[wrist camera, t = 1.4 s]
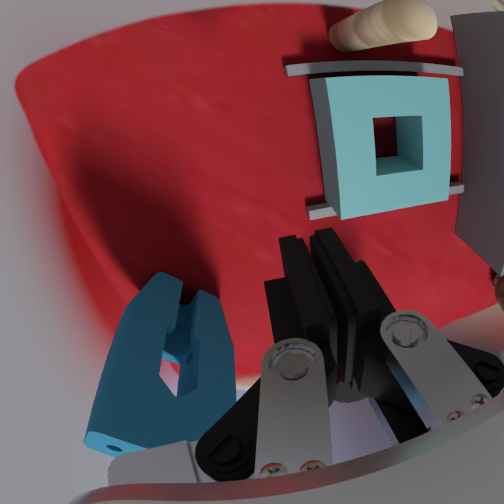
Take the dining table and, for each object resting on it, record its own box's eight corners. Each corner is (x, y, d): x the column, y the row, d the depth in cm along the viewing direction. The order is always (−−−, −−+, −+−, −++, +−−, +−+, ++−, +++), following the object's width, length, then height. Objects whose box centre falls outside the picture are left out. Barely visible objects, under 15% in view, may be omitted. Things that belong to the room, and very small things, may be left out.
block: (129, 292, 34) (82, 445, 16) (143, 262, 32) (89, 428, 14) (215, 330, 38) (215, 480, 20) (235, 305, 36) (245, 467, 18)
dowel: (357, 22, 20) (431, -3, 10) (363, 52, 21) (441, 42, 11) (325, 22, 20) (388, -12, 10) (331, 53, 22) (399, 37, 11)
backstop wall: (461, 19, 18) (524, 16, 9) (464, 231, 32) (509, 272, 24) (269, 3, 19) (291, -38, 10) (312, 266, 33) (338, 329, 25)
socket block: (418, 76, 22) (447, 78, 18) (422, 183, 28) (448, 199, 24) (308, 79, 23) (325, 77, 19) (325, 199, 29) (341, 219, 25)
